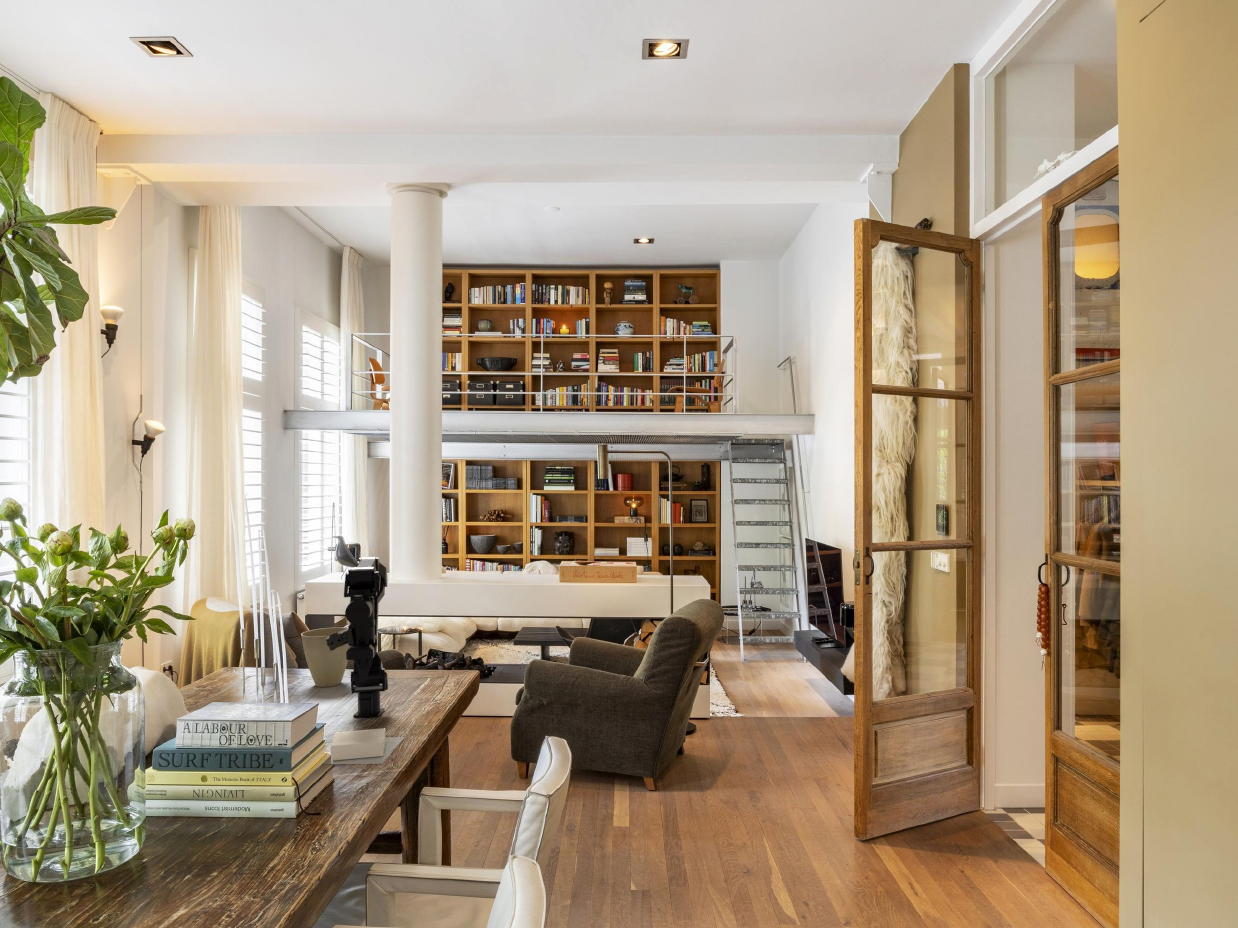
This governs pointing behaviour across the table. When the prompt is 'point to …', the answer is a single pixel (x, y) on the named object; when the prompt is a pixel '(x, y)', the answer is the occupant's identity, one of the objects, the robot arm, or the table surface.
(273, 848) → the table surface
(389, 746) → the mat
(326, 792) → the table surface
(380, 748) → the cream block
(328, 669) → the plant pot
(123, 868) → the table surface
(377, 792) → the table surface
